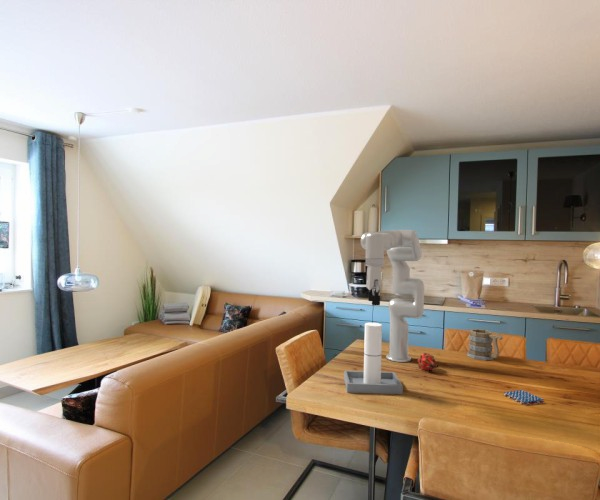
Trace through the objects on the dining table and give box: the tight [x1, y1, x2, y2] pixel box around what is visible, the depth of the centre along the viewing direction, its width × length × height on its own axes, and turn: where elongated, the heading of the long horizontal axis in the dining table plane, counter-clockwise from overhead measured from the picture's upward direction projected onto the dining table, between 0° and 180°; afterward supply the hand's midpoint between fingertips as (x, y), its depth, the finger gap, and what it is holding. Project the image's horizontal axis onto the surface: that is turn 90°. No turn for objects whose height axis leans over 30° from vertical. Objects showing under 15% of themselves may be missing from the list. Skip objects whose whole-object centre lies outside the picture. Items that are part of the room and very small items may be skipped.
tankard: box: [466, 328, 504, 361], centre depth 204 cm, size 20×13×15 cm, turn 17°
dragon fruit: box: [417, 352, 440, 373], centre depth 183 cm, size 8×8×12 cm
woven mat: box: [503, 389, 545, 406], centre depth 151 cm, size 10×11×2 cm
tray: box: [343, 370, 404, 395], centre depth 162 cm, size 16×22×4 cm
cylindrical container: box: [363, 322, 383, 384], centre depth 162 cm, size 7×7×25 cm
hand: (373, 303), depth 161 cm, fingers open, 9 cm apart
